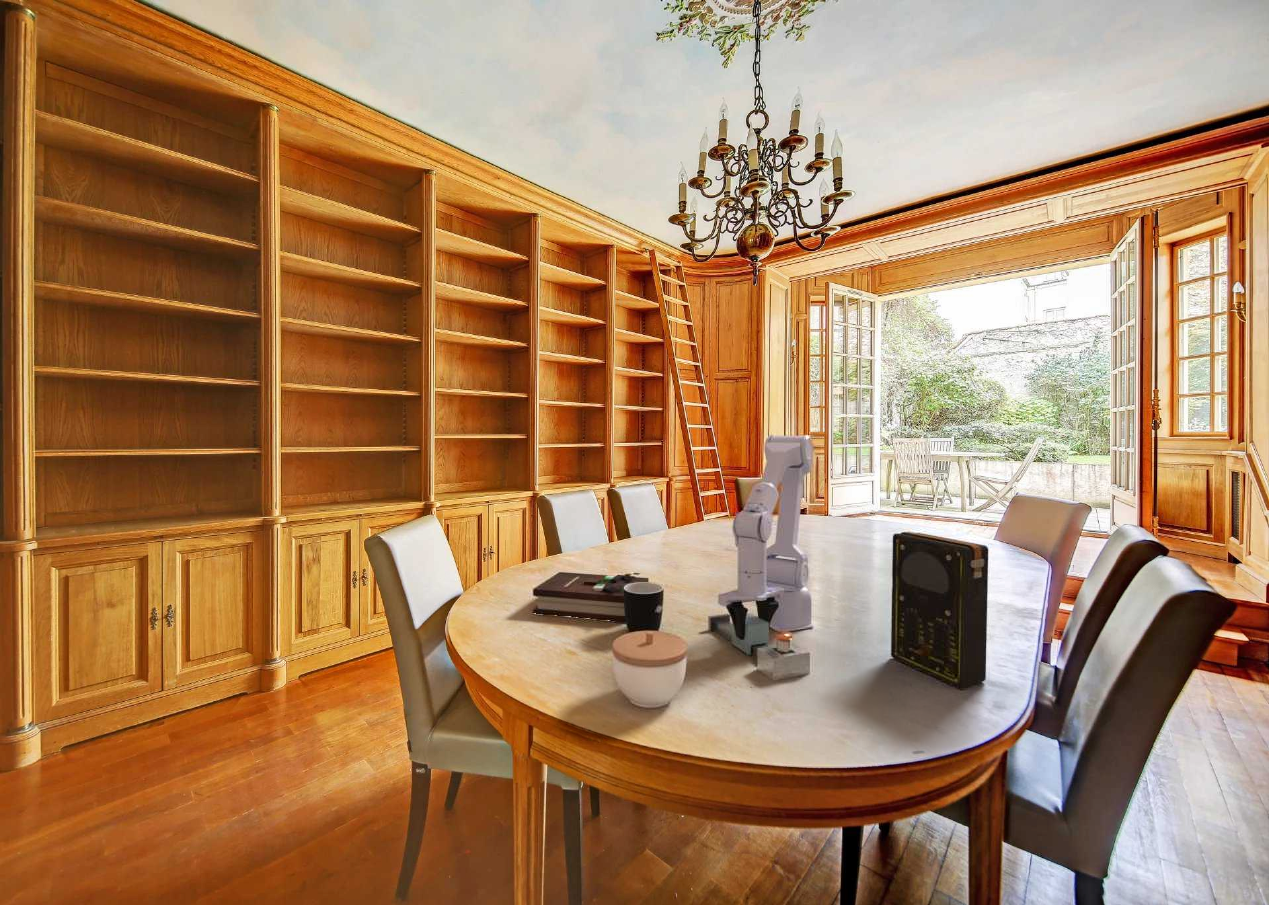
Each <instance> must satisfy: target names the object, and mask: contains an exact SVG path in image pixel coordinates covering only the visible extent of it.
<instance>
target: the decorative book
mask: <svg viewBox="0 0 1269 905" xmlns="http://www.w3.org/2000/svg"><path fill="white" fill-rule="evenodd" d="M640 574H641V572H634V573H625V574H617V575H607V574H597V573H596V574H595V573H594V574H593V573H579V572H578V573H577V572H564V571H559V572H557V573H556V574H554V575H553V576H551V577H549V578H548V579H546V580H545V581H544V582H541V583H540V584H539V585H537V586H535V587H534V588H532V596H533V597H535V599H534V600H533V602H536V603H537V606H536V607H534V608H533V609H532V614H533V613H536V614H543V615H542V616H545V615H557V616H571V617H578V618H590V619H596V620H595V621H600V620H610V621H609V622H611V621H615V622H614V623H622V622H626V619H625V611H624V597H623V589H624V586H626V585H628V584H631V583H637V582H649V577H639V575H640ZM633 575H634V576H633ZM635 575H636V576H635ZM637 576H638V577H637ZM649 583H650V582H649ZM536 597H537V598H536ZM578 618H577V619H578Z"/></svg>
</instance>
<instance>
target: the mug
mask: <svg viewBox="0 0 1269 905" xmlns="http://www.w3.org/2000/svg"><path fill="white" fill-rule="evenodd" d="M664 593H665V592H664V587H663V586H662V585H661V584H658V583H656V582H637V583H631V584H628V585H626V586H624V589H623V597H624V611H625V619H626V623H625V624H626V628H627V631H628V633H631V632H637V631H660V628H661V623H662V618H663V617H662V616H663V611H664V598H665V597H664Z"/></svg>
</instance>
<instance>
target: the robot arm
mask: <svg viewBox="0 0 1269 905" xmlns="http://www.w3.org/2000/svg"><path fill="white" fill-rule="evenodd" d="M763 447H764V456H765V459H766V462H765V466H764V468H763V469H764V470H763V473H762V476H761V478H760V482H758V483H756V484H754V485H753V487H752V488H751V491H750V493H749V496H748V498H747V500H746V503H745V504H744V507H743V510H741V511H740V512H738V513H736V514H735V516H734V517H733V521H732V528H731V529H732V533H733V536H734V545H735V547H736V548H737V589H734V590H730V591H727V592H724V593H719V594H717V599H718V600H717V602H718V604H719V606H722V607H725V608H726V610H727V612H728V614H729V615H730V620H731V623H732V622H733V625H734V629H735V634H736V637H737V638H739V639H740V640H744V638H745V621H746V616H747V614H748V611H749V609H748V608H747V607H745V606H744V604H743V603H750V602H755V606H756V612H757V617H759V618H761V619H763V620H765V621H766V622H768V623H769V629H772V630H774V631H775V632H776V631H788V632H792V631H793V632H794V631H799V630H800V631H801V630H805V629H811V628H814V624H812V597H811V593H810V591H809V589H808V588H807V587H806V585H807V583H808V579H809V574H810V573H809V558H808V556H807V554H806V553H805V552H804V550H802V549H801V548H800V547H799V546H798V537H799V536H798V535H799V529H800V528H799V527H800V516H801V509H802V508H801V507H802V506H801V505H802V496H803V489H804V488H803V486H804V479H805V476H806V475H808V474H810V473H812V472H811V471H812V467H813V460H814V459H813V458H814V443H813V440H812V438H811V437H810V435H808V434H804V435H774V434H770V435H769V436H767V438H766V439H765V442H764V446H763ZM780 483H781V487H780V493H779V491H778V489H777V488H778V486H779V485H780ZM778 500H779V506H778V513H777V514H778V515H777V520H776V521H777V523H776V524H777V525H776V532H775V542H774V543H773V544H771V545H770V546H769V547H767V541H768V540H769V539H770V537H771V535H772V529H773V528H772V526H773V522H774V521H773V520H774V518H773V514H774V511H775V508H776V505H777V502H778ZM782 557H785V558H782ZM790 558H792V559H790Z"/></svg>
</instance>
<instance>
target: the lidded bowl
mask: <svg viewBox="0 0 1269 905" xmlns="http://www.w3.org/2000/svg"><path fill="white" fill-rule="evenodd" d="M611 651H612V666H613V673H614V678H615V681H616V683H617V686H618V687H619V689H620V690H621V692H622V693H623V695H625V697H627V699H628V700H629V702H630V703H631V704H632V705H634V706H637V707H640V708H645V709H657V708H662V707H664V706H665V705H668V704H669V703H670V702H671V700H672V699H673V697H675V696H676V694H677V693H679V691H680V689H681V688H682V685H683V683H684V680H685V675H686V671H687V660H688V658H687V655H688V644H687V642H686V641H685V640H684V639H683V638H682V637H681V636H678V635H677V634H673V633H670V632H666V631H660V630H659V631H637V632H631V633H629V632H627V633H624V634H622V635H620V636H618V637H617V638H615V639H614V640H613V642H612V645H611Z"/></svg>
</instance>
